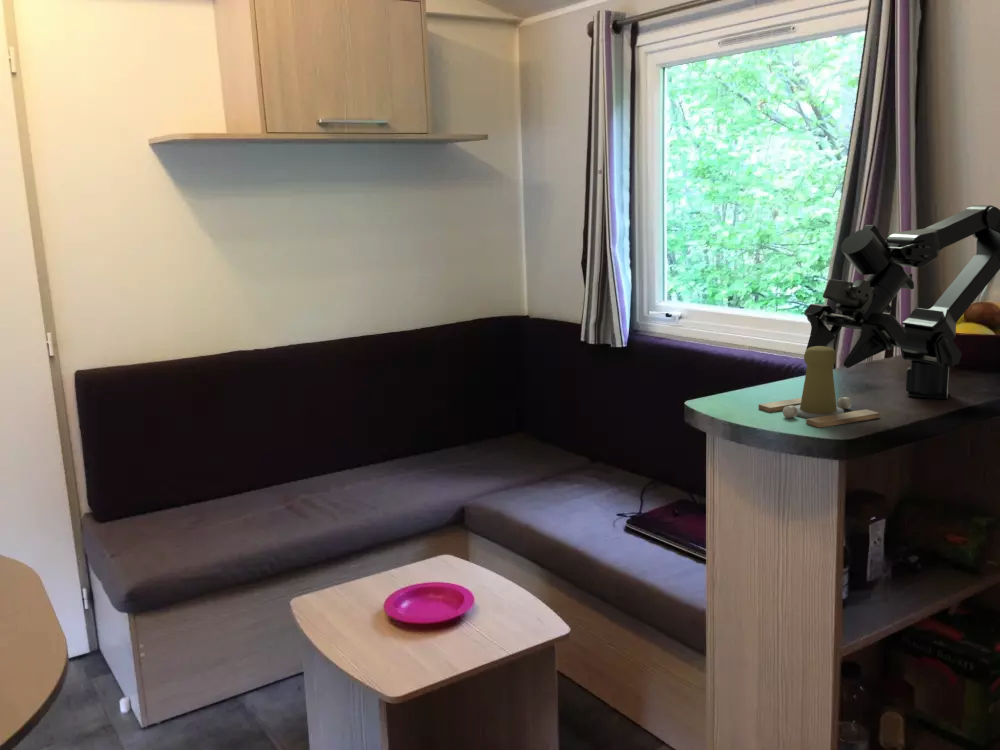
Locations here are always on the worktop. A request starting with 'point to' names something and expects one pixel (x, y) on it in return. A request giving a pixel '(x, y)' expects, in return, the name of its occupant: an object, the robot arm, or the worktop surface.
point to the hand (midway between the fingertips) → (825, 361)
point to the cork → (819, 381)
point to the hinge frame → (820, 420)
